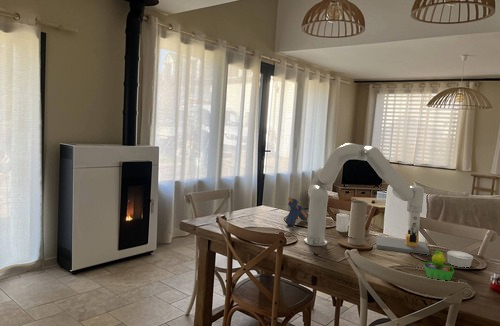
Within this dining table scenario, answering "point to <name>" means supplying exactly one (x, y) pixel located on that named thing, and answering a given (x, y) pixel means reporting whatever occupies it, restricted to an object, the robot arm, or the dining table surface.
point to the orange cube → (410, 242)
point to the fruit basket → (438, 267)
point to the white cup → (342, 222)
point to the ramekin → (459, 258)
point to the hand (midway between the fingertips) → (411, 239)
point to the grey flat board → (400, 245)
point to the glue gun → (295, 212)
